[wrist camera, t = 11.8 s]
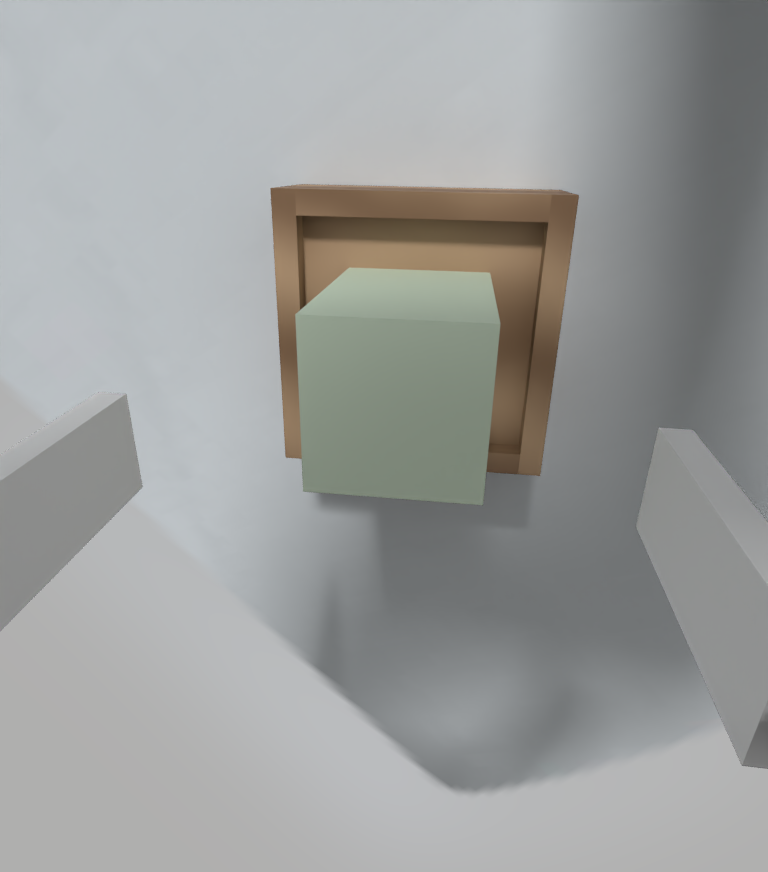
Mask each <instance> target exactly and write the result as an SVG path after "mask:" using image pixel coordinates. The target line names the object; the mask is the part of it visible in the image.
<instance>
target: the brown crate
mask: <svg viewBox="0 0 768 872" xmlns="http://www.w3.org/2000/svg"><path fill="white" fill-rule="evenodd" d="M578 198H579V195H576V194H573V193H569V192H565V191H562V190H532V189H487V188H442V187H397V186H353V185H308V184H301V185H292V186H284V187H276V188H271V204H272V222H273V240H274V258H275V275H276V293H277V311H278V329H279V347H280V365H281V382H282V400H283V418H284V436H285V454H286V457H287V458H301V459H302V454H301V431H300V409H299V387H298V364H297V342H296V320H295V314H296V313H298V312H299V311H300V310H301V309H302V308H303V307H304V306H306V305H307V304H308V303H309V302H310V301H311V300H312V299H314V298H315V297H316V296H317V295H318V294H319V293H321V292H322V291H323V290H324V289H325V288H326V287H327V286H329V285H330V284H331V283H332V282H333V281H334V280H335V279H337V278H338V277H339V276H340V275H341V274H342V273H343V272H345V271H346V270H347V269H348V268H377V269H404V270H432V271H459V272H487V273H490V275H491V280H492V284H493V289H494V294H495V299H496V304H497V309H498V314H499V319H500V334H499V344H498V355H497V365H496V375H495V386H494V396H493V407H492V417H491V428H490V438H489V448H488V459H487V469H486V472H494V473H508V474H522V475H536V476H540V472H541V465H542V458H543V451H544V444H545V436H546V429H547V422H548V415H549V407H550V400H551V393H552V386H553V378H554V371H555V364H556V357H557V350H558V342H559V335H560V328H561V321H562V313H563V306H564V299H565V292H566V285H567V277H568V270H569V263H570V256H571V248H572V241H573V234H574V227H575V219H576V212H577V205H578Z"/></svg>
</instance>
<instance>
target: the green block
mask: <svg viewBox="0 0 768 872" xmlns="http://www.w3.org/2000/svg"><path fill="white" fill-rule="evenodd" d="M295 320H296V342H297V364H298V387H299V409H300V431H301V454H302V476H303V492H316V493H329V494H342V495H355V496H368V497H381V498H394V499H407V500H420V501H432V502H445V503H458V504H471V505H483V500H484V490H485V480H486V469H487V459H488V448H489V438H490V428H491V417H492V407H493V396H494V386H495V375H496V365H497V355H498V344H499V334H500V319H499V314H498V309H497V304H496V299H495V294H494V289H493V284H492V280H491V275H490V273H487V272H459V271H432V270H404V269H377V268H348V269H347V270H346V271H345V272H343V273H342V274H341V275H340V276H339V277H338V278H337V279H335V280H334V281H333V282H332V283H331V284H330V285H329V286H327V287H326V288H325V289H324V290H323V291H322V292H321V293H319V294H318V295H317V296H316V297H315V298H314V299H312V300H311V301H310V302H309V303H308V304H307V305H306V306H304V307H303V308H302V309H301V310H300V311H299V312H298V313H296V314H295Z"/></svg>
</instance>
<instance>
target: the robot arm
mask: <svg viewBox="0 0 768 872" xmlns="http://www.w3.org/2000/svg"><path fill="white" fill-rule="evenodd" d="M142 487H143V486H142V480H141V475H140V469H139V463H138V458H137V452H136V446H135V441H134V435H133V429H132V424H131V418H130V412H129V407H128V401H127V395H126V394H123V393H107V392H97V393H96V394H94V395H93V396H91V397H89V398H88V399H86V400H85V401H83V402H82V403H80V404H78V405H77V406H75V407H74V408H72V409H71V410H69V411H67V412H66V413H64V414H63V415H61V416H60V417H58V418H56V419H55V420H53V421H52V422H50V423H49V424H47V425H45V426H44V427H42V428H41V429H39V430H38V431H36V432H34V433H33V434H31V435H30V436H28V437H27V438H25V439H24V440H22V441H20V442H19V443H17V444H16V445H14V446H12V447H11V448H9V449H8V450H7V451H5V452H3V453H1V454H0V631H1V630H2V629H3V628H4V627H5V626H6V625H7V624H8V623H9V622H10V621H11V620H12V619H13V618H14V617H15V616H16V615H17V614H18V613H19V612H20V611H21V610H22V609H23V608H24V607H25V606H26V605H27V604H28V603H29V602H30V601H31V600H32V599H33V597H35V596H36V595H37V594H38V593H39V592H40V591H41V590H42V589H43V588H44V587H45V586H46V585H47V584H48V583H49V582H50V581H51V579H52V578H54V577H55V575H57V574H58V572H59V571H60V570H61V569H62V568H63V567H64V566H65V565H66V564H67V563H68V562H69V561H70V560H71V559H72V558H73V557H74V556H75V555H76V554H77V553H78V552H79V551H80V550H81V549H82V548H83V547H84V546H85V545H86V544H87V543H88V542H89V541H90V540H91V539H92V538H93V537H94V536H95V535H96V534H97V533H98V532H99V531H100V530H101V529H102V528H103V527H104V526H105V525H106V524H107V523H108V522H109V521H110V520H111V519H112V518H113V517H114V516H115V515H116V514H117V513H118V512H119V511H120V510H121V508H123V507H124V505H126V504H127V503H128V502H129V501H130V499H131V498H132V497H133V496H134V495H135V494H136V493H137V492H138V491H139V490H140V489H141V488H142ZM636 529H637V531H638V533H639V535H640V538H641V540H642V542H643V544H644V547H645V549H646V551H647V553H648V556H649V558H650V560H651V562H652V565H653V567H654V569H655V571H656V574H657V576H658V578H659V580H660V583H661V585H662V587H663V589H664V592H665V594H666V596H667V598H668V601H669V603H670V605H671V607H672V610H673V612H674V614H675V616H676V618H677V621H678V623H679V625H680V627H681V630H682V632H683V634H684V636H685V639H686V641H687V643H688V645H689V648H690V650H691V652H692V654H693V657H694V659H695V661H696V663H697V666H698V668H699V670H700V672H701V675H702V677H703V679H704V681H705V684H706V686H707V688H708V690H709V693H710V695H711V697H712V699H713V702H714V704H715V706H716V708H717V711H718V713H719V715H720V717H721V720H722V722H723V724H724V726H725V729H726V731H727V733H728V735H729V737H730V740H731V742H732V744H733V747H734V749H735V751H736V753H737V756H738V758H739V760H740V762H741V764H742V766H750V767H758V768H767V769H768V522H767V521H766V519H765V518H764V517H763V516H762V514H761V513H760V512H759V511H758V509H757V508H756V507H755V506H754V504H753V503H752V502H751V501H750V500H749V498H748V497H747V496H746V495H745V493H744V492H743V491H742V490H741V488H740V487H739V486H738V485H737V484H736V482H735V481H734V480H733V479H732V477H731V476H730V475H729V474H728V472H727V471H726V470H725V469H724V467H723V466H722V465H721V464H720V463H719V461H718V460H717V459H716V458H715V456H714V455H713V454H712V453H711V451H710V450H709V449H708V448H707V446H706V445H705V444H704V443H703V442H702V440H701V439H700V438H699V437H698V435H697V434H696V433H695V432H694V430H692V429H676V428H660V427H658V431H657V436H656V440H655V444H654V449H653V453H652V458H651V462H650V467H649V471H648V475H647V480H646V484H645V489H644V493H643V498H642V502H641V506H640V511H639V515H638V520H637V524H636Z"/></svg>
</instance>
